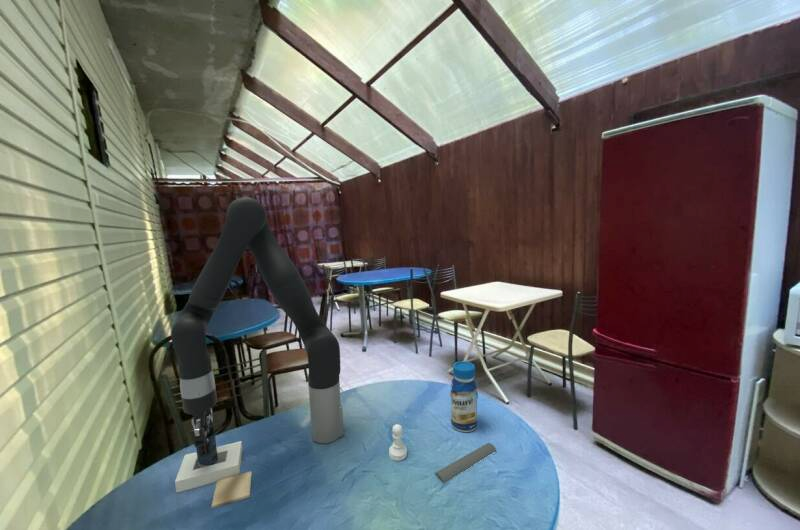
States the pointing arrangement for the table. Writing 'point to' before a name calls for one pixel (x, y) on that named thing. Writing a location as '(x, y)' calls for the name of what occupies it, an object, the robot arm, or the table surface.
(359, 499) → the table surface
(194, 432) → the robot arm
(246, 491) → the tan rectangular block
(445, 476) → the gray half cylinder
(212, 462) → the vaping device
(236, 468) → the white cutout frame
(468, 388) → the beverage bottle
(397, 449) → the chess pawn
